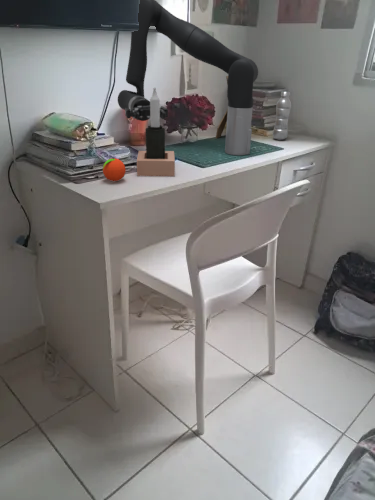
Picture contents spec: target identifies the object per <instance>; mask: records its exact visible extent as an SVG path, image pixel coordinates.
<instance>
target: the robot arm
mask: <svg viewBox="0 0 375 500" xmlns="http://www.w3.org/2000/svg"><path fill="white" fill-rule="evenodd" d="M138 22H139V30H138V31H134V32H131V31H130V33H131V35H130V47H129V48H130V50H129V56H128V57H129V58H128V65H127V70H126V76H125V81H126V83H127V84H129V85H131V86H133V87H135V89H136V91H131V90H126V89H124V90H121V91H120V92H119V93H118V95H117V104H118V106H119V107H120V108H121V109H122V110H124V115H125V117H126V119H131V117H132V119H136V120H137V121H141V122H144V121H145V122H146V121H148V120H149V119H150V99H149V100H148V99H147V98H146V97H145V79H146V72H147V67H148V50H147V47H148V43H147V41H148V36H149V35H148V34H149V30H150V28H149V27H150V26H155V27H156V30H157V31H156V30H155V31H156V32H159V34H162V35H163V36H165V37H167V38H168V39H169V40H170V41H172V42H173V44H175V45H176V46H177V47H178V48H179V49H180V50H182V51H183V52H184V53H186V54H188V55H189V56H191V57H192V58H194V59H196V60H198V61H200V62H203V63H206V64H208V65H211V66H213V67H216V68H218V69H220V70H222V71H224V72H225V73H226V74H227V76H228V85H227V94H226V95H227V96H226V97H227V109H228V113H227V122H226V129H225V130H226V131H225V143H224V145H225V146H224V153H225V154H228V155H232V156H244V155H250V154H251V153H250V152H251V143H252V135H253V132H252V131H253V129H252V120H253V110H254V109H253V108H254V107H253V106H254V96H253V91H254V90H253V89H254V82H256V80H257V79H258V76H259V67H258V66H257V64H256V62H255V61H254V60H252V59H250V58H248V57H246V56H244V55H241V54H239V53H237V52H235V51H234V50H232V49H230V48H228V46H226V45H224V44H223V43H222V42H220V41H219V40H218V39H217V38H215V37H214V36H212V35H210V33H207V32H206V31H205V30H203V29H202V28H200V27H198V26H197V25H195V24H192V23H191V22H189V21H186V20H185V19H184V20H183V19H181V18H179V17H177V16H175V15H174V14H172V13H171V12H170V11H169V10H168V9H166V8H165V7H163V6H162V4H160V3H159V2H158V1H157V0H140V4H139V13H138ZM168 114H169V109H168V108H166V107H164V106H161V105H160V119H162V120H165V119H166V118H168V117H169V115H168Z"/></svg>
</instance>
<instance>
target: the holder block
mask: <svg viewBox="0 0 375 500" xmlns="http://www.w3.org/2000/svg"><path fill="white" fill-rule="evenodd" d="M175 159H176V158H175V151H174V150H165V159H146V150H138V154H137V158H136V176H137V177H175V175H176V171H175V170H176V169H175V168H176V167H175V166H176V165H175V164H176V160H175Z"/></svg>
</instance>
